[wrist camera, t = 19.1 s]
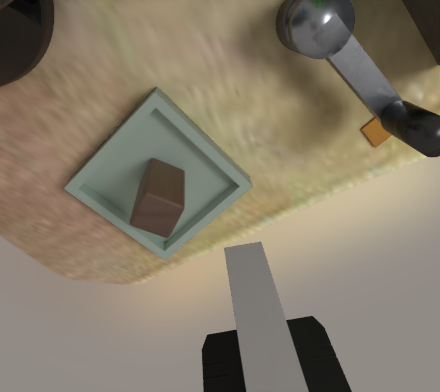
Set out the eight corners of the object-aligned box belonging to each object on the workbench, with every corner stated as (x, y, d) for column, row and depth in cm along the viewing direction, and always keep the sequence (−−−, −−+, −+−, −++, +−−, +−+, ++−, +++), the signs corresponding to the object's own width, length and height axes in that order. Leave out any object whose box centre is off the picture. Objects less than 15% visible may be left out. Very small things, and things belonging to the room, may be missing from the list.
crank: (275, 26, 28) (301, 32, 22) (322, -27, 27) (366, -37, 20) (376, 141, 34) (420, 173, 28) (419, 103, 32) (477, 127, 26)
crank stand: (232, -21, 30) (251, -32, 21) (396, -201, 25) (506, -309, 17) (367, 152, 39) (418, 194, 31) (504, 44, 35) (611, 57, 26)
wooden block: (171, 198, 39) (168, 240, 32) (138, 186, 38) (127, 226, 31) (186, 169, 38) (186, 207, 31) (151, 155, 36) (143, 190, 29)
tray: (70, 178, 38) (63, 188, 36) (156, 86, 34) (154, 92, 32) (166, 247, 43) (165, 260, 41) (249, 176, 39) (252, 186, 37)
